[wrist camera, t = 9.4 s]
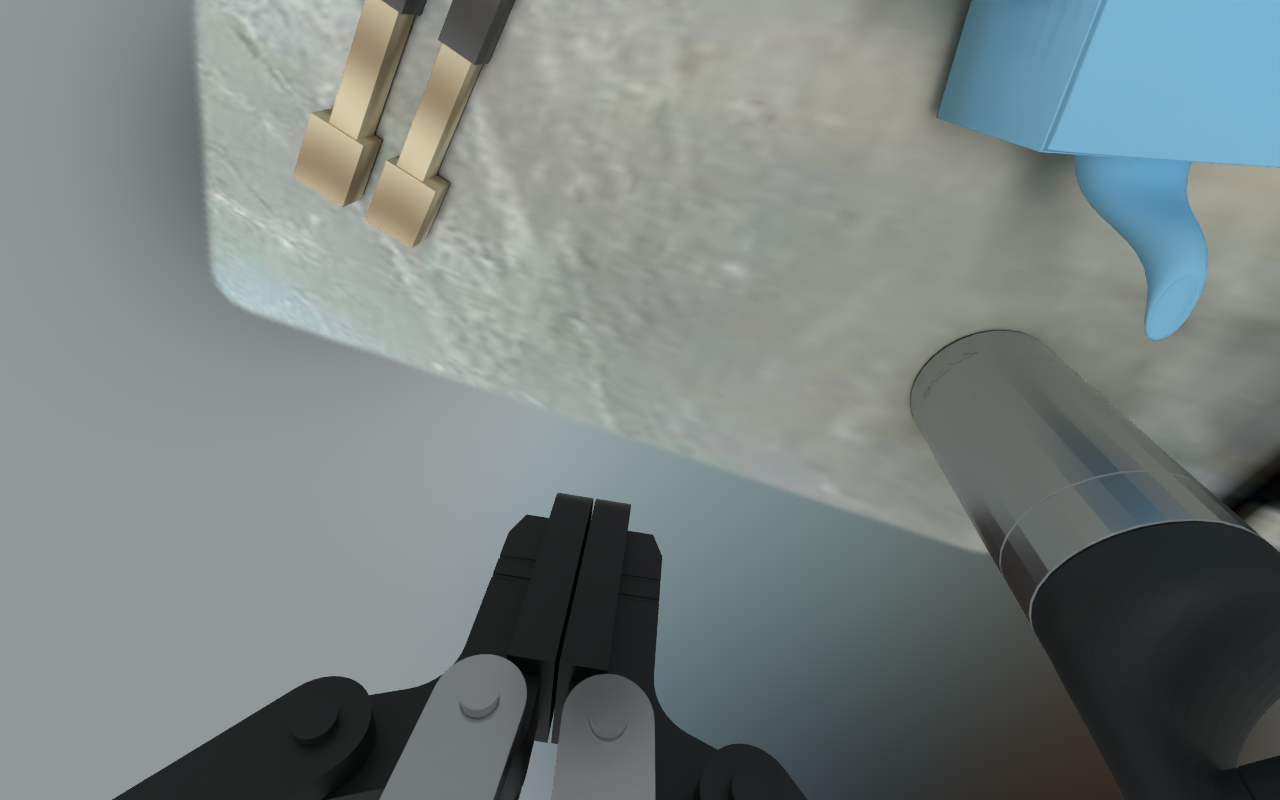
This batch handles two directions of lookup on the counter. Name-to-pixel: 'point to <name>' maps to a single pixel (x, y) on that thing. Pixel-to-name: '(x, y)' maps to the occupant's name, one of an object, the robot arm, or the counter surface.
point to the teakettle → (1129, 110)
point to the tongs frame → (356, 105)
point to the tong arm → (436, 122)
